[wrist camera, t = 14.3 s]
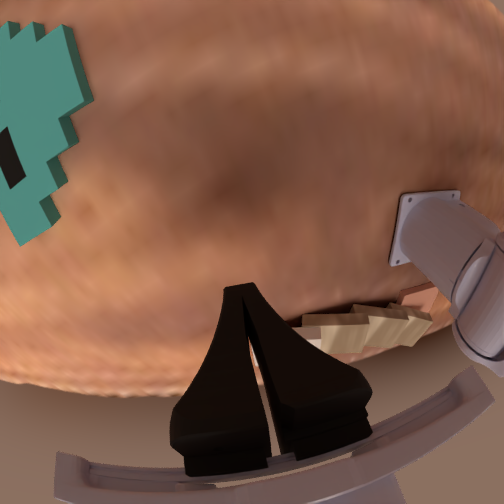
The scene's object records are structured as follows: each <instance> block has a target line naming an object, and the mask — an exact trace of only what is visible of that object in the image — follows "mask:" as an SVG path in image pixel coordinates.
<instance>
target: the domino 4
mask: <svg viewBox="0 0 504 504" xmlns="http://www.w3.org/2000/svg"><path fill="white" fill-rule="evenodd" d="M386 308H388V309H396V310H404V311H406V312H407V315H408V318H409V322H408V323H407V325H406V327H405V328H404V330H403V331H402V333H401V335H400V336H399V338H398V339H397V341H396V342H395V344H400V345H406V346H413V345H414V344H415V342H416V341H417V340H418V339H419V338H420V337H421V336H422V335H423V333H424V332H425V331H426V330H427V329H428V328H429V326H430V325H431V324H432V323H433V320H432V318H431V316H430V313H426V312H422V311H419V310H415V309H412V308H408V307H405V306H401V305H398V304H394V303H391V302H390V303H389V305H388V306H387V307H386Z"/></svg>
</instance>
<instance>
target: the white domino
mask: <svg viewBox="0 0 504 504" xmlns="http://www.w3.org/2000/svg"><path fill="white" fill-rule="evenodd" d="M292 329H294V330H295V331H296V332H297V333H298V334H299V335H301V336H302V337H303V338H305V339H306V340H307V341H308V342H310V343H311V344H313V345H314V346H316V347H317V348H319V349H320V348H321V327H298V328H292ZM251 347H252V346H251ZM252 352H253V349H252ZM253 357H254V361H255V366H258V363H257V360H256V358H255V355H254V352H253Z"/></svg>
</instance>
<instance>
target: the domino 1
mask: <svg viewBox="0 0 504 504" xmlns="http://www.w3.org/2000/svg"><path fill="white" fill-rule="evenodd" d="M369 325H370V323H369V317H368V313H353V314H302V327H321V348H320V350H322V351H323V352H325V353H327V354H338V353H362V350H363V347H364V343H365V340H366V336H367V333H368V329H369Z"/></svg>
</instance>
